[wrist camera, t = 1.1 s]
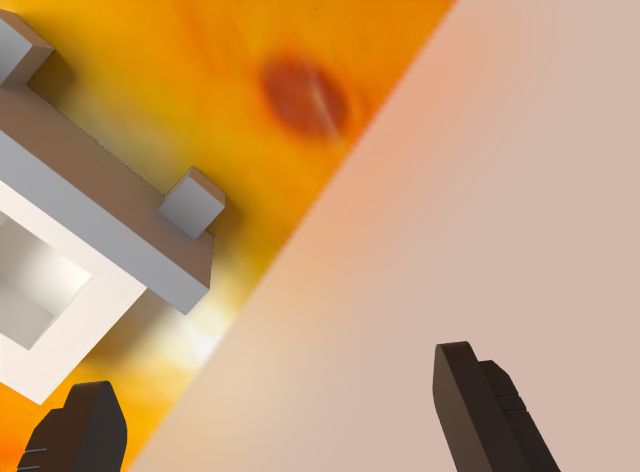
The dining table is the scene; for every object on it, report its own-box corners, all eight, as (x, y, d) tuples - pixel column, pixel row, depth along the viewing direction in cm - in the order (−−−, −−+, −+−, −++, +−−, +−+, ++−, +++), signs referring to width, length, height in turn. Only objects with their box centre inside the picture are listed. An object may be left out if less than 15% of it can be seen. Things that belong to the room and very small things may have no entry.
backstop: (-60, 56, 32) (-181, 48, 23) (-10, -7, 31) (-112, -42, 22) (195, 256, 38) (185, 315, 29) (241, 207, 38) (245, 250, 28)
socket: (-86, 260, 35) (-145, 295, 30) (25, 129, 34) (-15, 139, 29) (67, 357, 39) (40, 405, 34) (171, 243, 38) (161, 272, 32)
